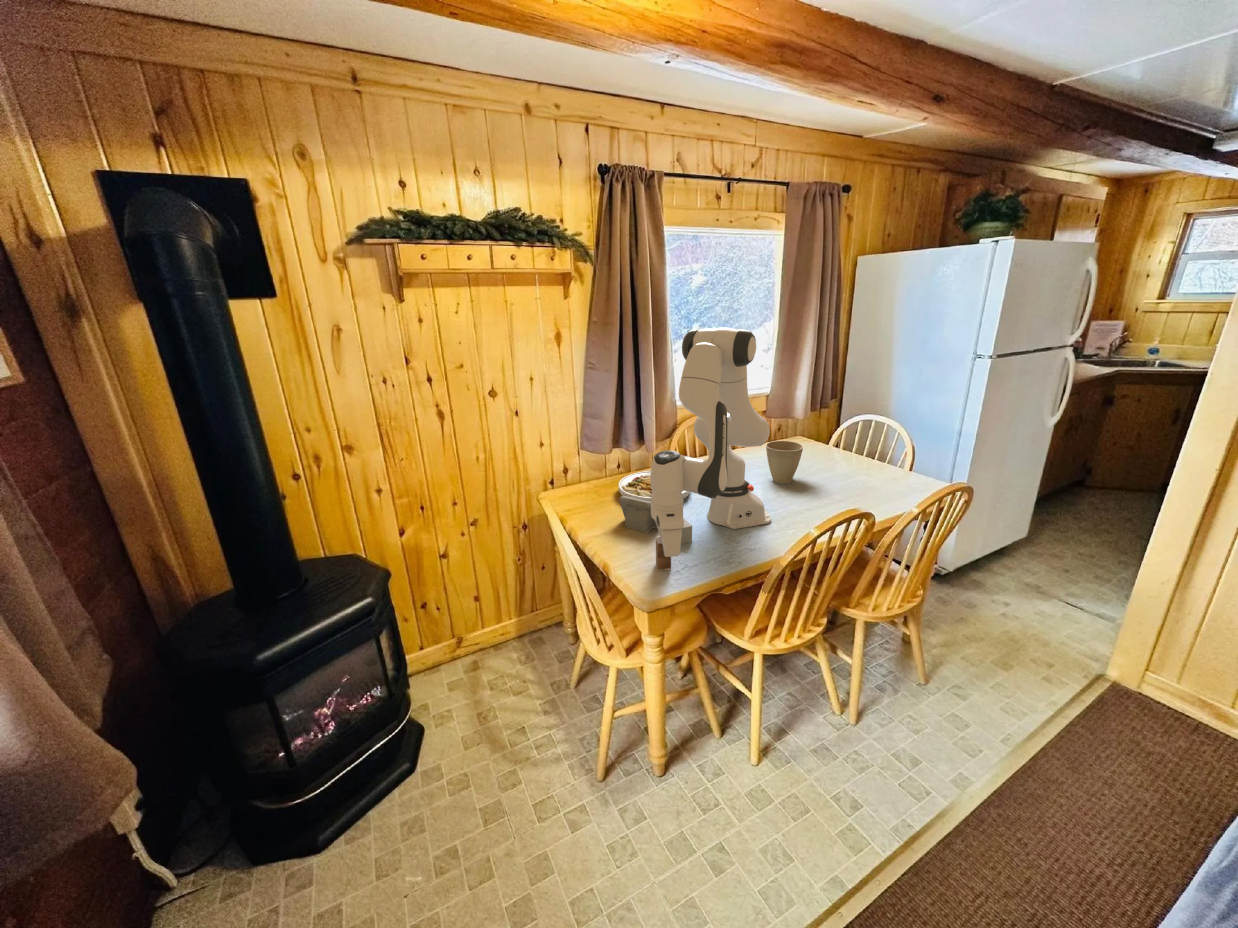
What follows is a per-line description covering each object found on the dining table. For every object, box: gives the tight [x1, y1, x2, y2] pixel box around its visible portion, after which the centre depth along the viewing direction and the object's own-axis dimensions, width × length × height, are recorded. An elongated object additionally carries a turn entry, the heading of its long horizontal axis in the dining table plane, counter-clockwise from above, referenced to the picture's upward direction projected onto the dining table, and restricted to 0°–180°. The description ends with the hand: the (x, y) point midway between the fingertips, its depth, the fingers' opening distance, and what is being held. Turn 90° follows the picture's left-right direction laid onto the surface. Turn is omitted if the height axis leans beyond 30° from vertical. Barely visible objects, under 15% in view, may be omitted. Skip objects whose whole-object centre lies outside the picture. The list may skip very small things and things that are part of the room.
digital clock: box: [619, 495, 657, 534], centre depth 169 cm, size 16×9×11 cm, turn 46°
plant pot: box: [765, 440, 804, 484], centre depth 203 cm, size 15×15×16 cm
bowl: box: [618, 470, 691, 502], centre depth 197 cm, size 30×30×8 cm
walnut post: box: [655, 536, 672, 571], centre depth 143 cm, size 4×4×9 cm
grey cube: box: [681, 518, 693, 545], centre depth 159 cm, size 6×6×6 cm
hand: (666, 554), depth 135 cm, fingers closed
